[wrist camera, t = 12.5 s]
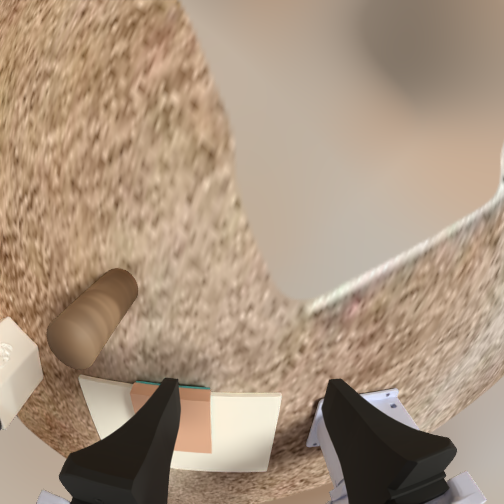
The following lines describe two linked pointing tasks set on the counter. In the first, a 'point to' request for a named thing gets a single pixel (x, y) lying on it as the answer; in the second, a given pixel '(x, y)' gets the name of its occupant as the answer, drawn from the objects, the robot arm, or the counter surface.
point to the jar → (16, 370)
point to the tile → (184, 415)
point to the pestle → (92, 319)
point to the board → (222, 419)
